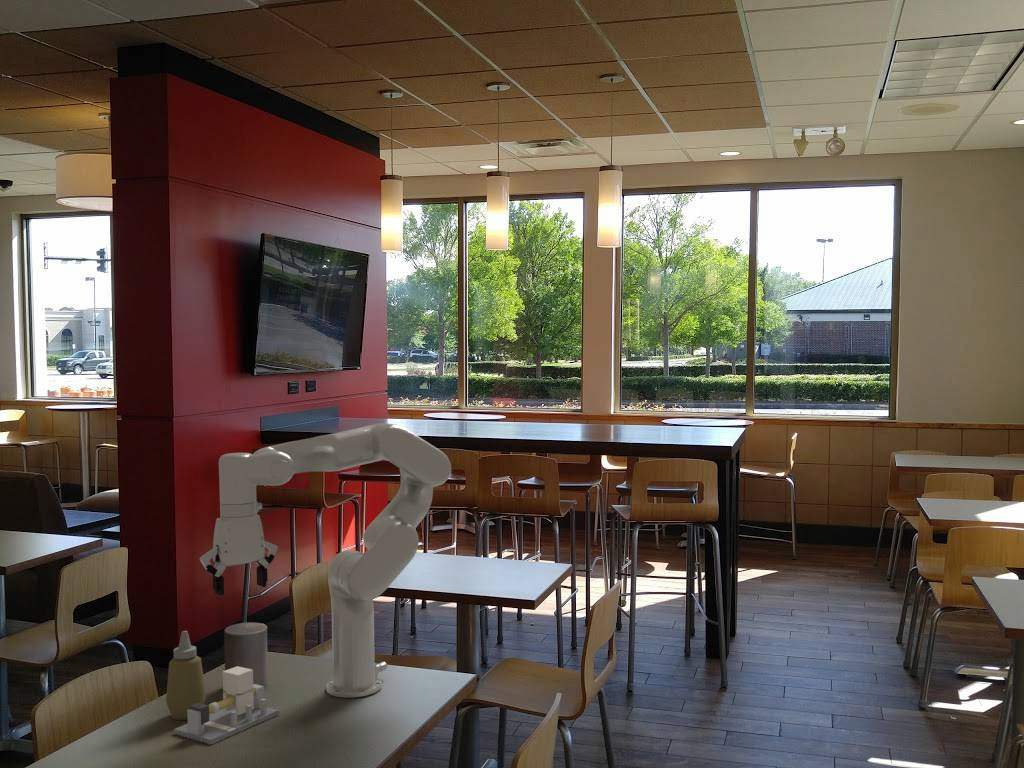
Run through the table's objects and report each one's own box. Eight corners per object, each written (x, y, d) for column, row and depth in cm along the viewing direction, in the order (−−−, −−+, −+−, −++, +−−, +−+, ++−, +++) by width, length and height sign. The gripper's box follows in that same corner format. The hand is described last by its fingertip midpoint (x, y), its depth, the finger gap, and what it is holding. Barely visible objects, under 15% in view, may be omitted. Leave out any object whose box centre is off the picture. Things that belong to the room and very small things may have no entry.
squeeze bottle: (193, 724, 193) (191, 637, 192) (158, 721, 194) (156, 636, 194) (213, 709, 201) (211, 627, 200) (179, 707, 202) (177, 625, 202)
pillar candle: (215, 689, 213) (214, 624, 213) (248, 676, 222) (247, 614, 221) (245, 697, 208) (244, 631, 208) (277, 684, 217) (276, 620, 216)
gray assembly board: (242, 705, 203) (242, 677, 203) (278, 714, 197) (278, 686, 197) (173, 733, 187) (173, 704, 187) (210, 744, 182) (210, 714, 182)
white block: (238, 704, 198) (237, 666, 198) (253, 708, 195) (252, 669, 195) (223, 710, 194) (222, 671, 194) (239, 715, 192) (238, 675, 192)
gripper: (267, 504, 207) (269, 580, 208) (192, 514, 196) (194, 594, 196) (283, 507, 202) (285, 585, 202) (207, 517, 190) (209, 600, 190)
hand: (240, 590), depth 199 cm, fingers open, 9 cm apart
